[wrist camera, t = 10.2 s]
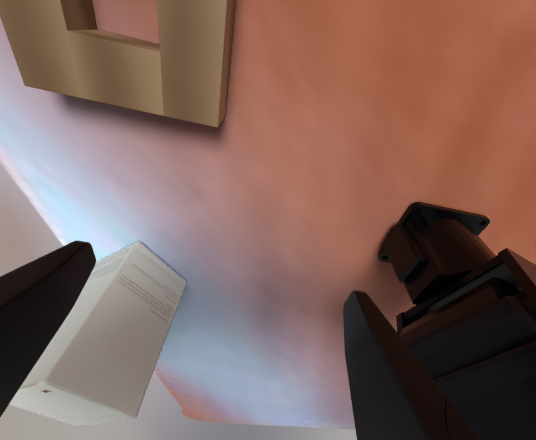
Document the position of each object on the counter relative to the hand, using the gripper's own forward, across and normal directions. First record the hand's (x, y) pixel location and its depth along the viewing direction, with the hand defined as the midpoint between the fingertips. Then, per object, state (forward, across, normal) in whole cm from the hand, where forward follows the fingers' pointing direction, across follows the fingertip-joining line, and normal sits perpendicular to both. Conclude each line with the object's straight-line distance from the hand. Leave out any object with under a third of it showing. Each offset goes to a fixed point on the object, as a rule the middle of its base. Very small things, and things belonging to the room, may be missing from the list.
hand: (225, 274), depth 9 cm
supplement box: (+12, +10, +17) cm, 23 cm away
